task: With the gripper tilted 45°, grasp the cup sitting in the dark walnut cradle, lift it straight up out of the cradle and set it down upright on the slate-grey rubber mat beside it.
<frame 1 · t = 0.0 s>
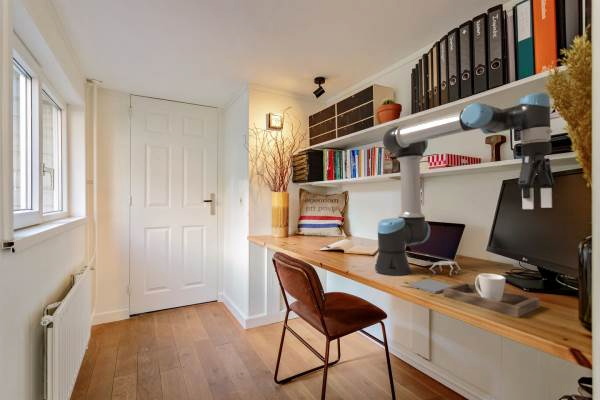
hand: (537, 208, 93), 28 cm above the table, tool pointing down, fingers open, 13 cm apart
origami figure: (443, 274, 123), on the table
cup: (488, 301, 89), resting in walnut cradle
grey mat: (430, 287, 104), on the table
walnut cradle: (488, 301, 89), on the table
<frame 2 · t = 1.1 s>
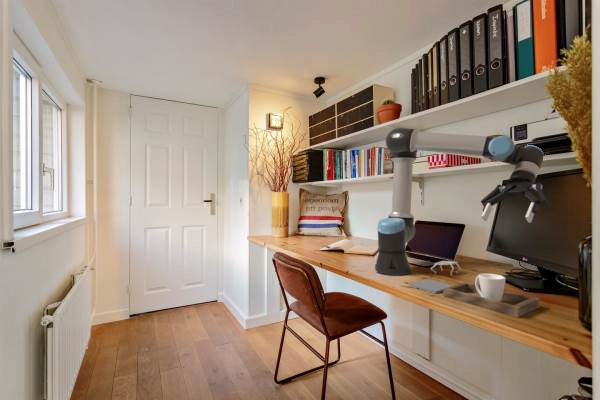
hand: (504, 219, 100), 24 cm above the table, tool tilted 45°, fingers open, 13 cm apart
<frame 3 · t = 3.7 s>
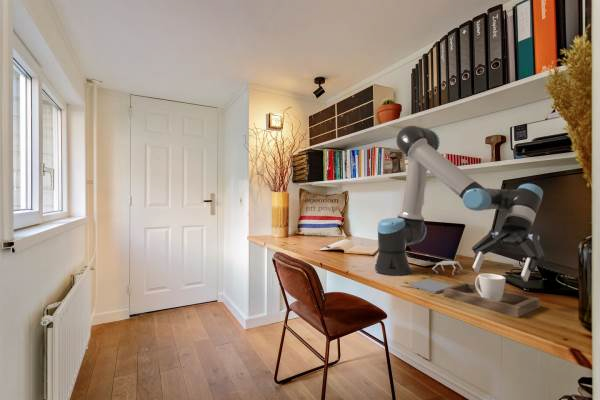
hand: (497, 274, 89), 8 cm above the table, tool tilted 45°, fingers open, 13 cm apart
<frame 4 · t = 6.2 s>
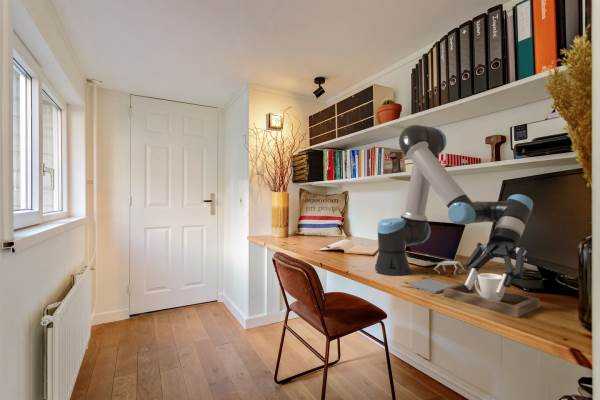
hand: (482, 291, 87), 4 cm above the table, tool tilted 45°, fingers closed on cup, 8 cm apart
cup: (488, 301, 89), resting in walnut cradle, touching gripper
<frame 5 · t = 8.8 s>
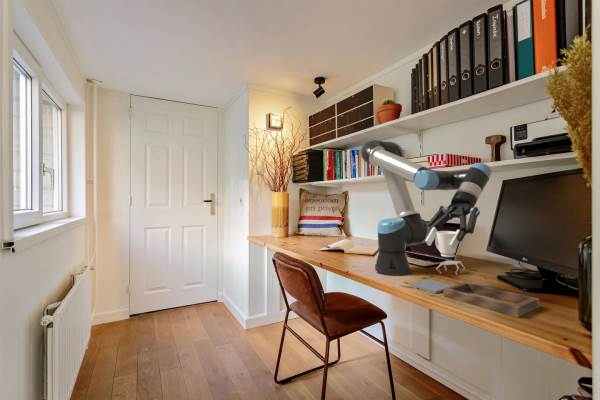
hand: (439, 245, 98), 16 cm above the table, tool tilted 45°, fingers closed on cup, 8 cm apart
cup: (445, 255, 100), point 12 cm above the table, touching gripper
when the fingers open (6 cm above the table, at t = 11.9 s): cup drops 1 cm, resting on grey mat.
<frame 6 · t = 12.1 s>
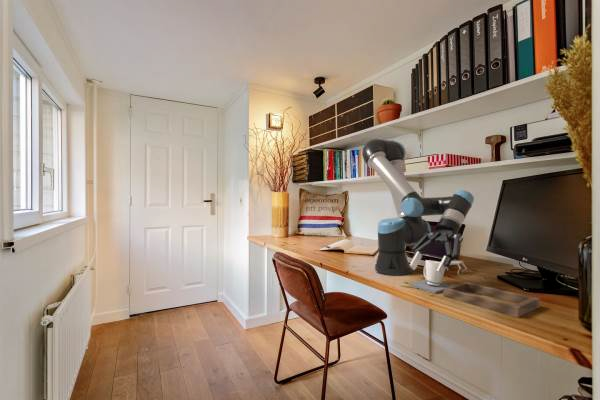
hand: (425, 270, 103), 7 cm above the table, tool tilted 45°, fingers open, 10 cm apart
cup: (430, 283, 105), point 1 cm above the table, touching grey mat
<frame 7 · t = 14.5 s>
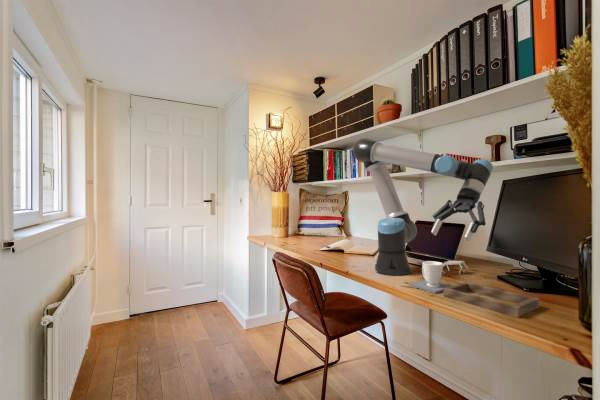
hand: (449, 236, 111), 17 cm above the table, tool tilted 40°, fingers open, 13 cm apart
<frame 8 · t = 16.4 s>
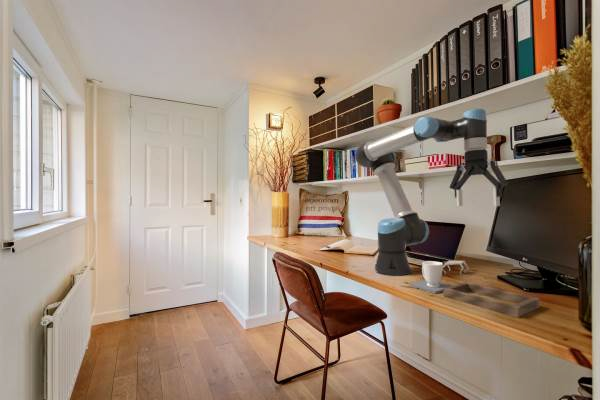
hand: (477, 206, 110), 29 cm above the table, tool pointing down, fingers open, 13 cm apart
at the end: cup inside the target area (1.1 cm from its centre), point 0.6 cm above the table; cup tilted 0°; the gripper is holding nothing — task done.
